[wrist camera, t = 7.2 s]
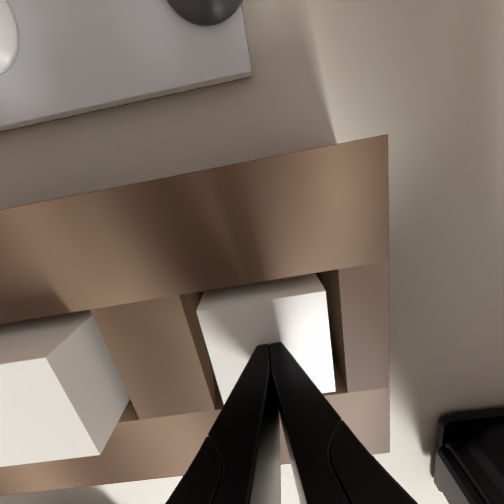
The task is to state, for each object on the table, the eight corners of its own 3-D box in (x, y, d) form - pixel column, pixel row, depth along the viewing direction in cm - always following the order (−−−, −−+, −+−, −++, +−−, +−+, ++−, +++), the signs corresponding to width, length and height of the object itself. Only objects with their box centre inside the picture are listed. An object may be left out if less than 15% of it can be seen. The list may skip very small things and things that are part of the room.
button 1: (306, 256, 10) (325, 291, 7) (315, 336, 12) (335, 391, 9) (211, 272, 11) (196, 311, 8) (231, 348, 12) (224, 406, 9)
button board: (337, 145, 10) (388, 134, 6) (352, 374, 14) (389, 452, 10) (-177, 246, 12) (-383, 285, 8) (-37, 426, 16) (-130, 510, 12)
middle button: (106, 301, 10) (45, 357, 7) (139, 380, 11) (100, 454, 8) (11, 316, 10) (-85, 377, 7) (55, 392, 11) (-12, 468, 8)
